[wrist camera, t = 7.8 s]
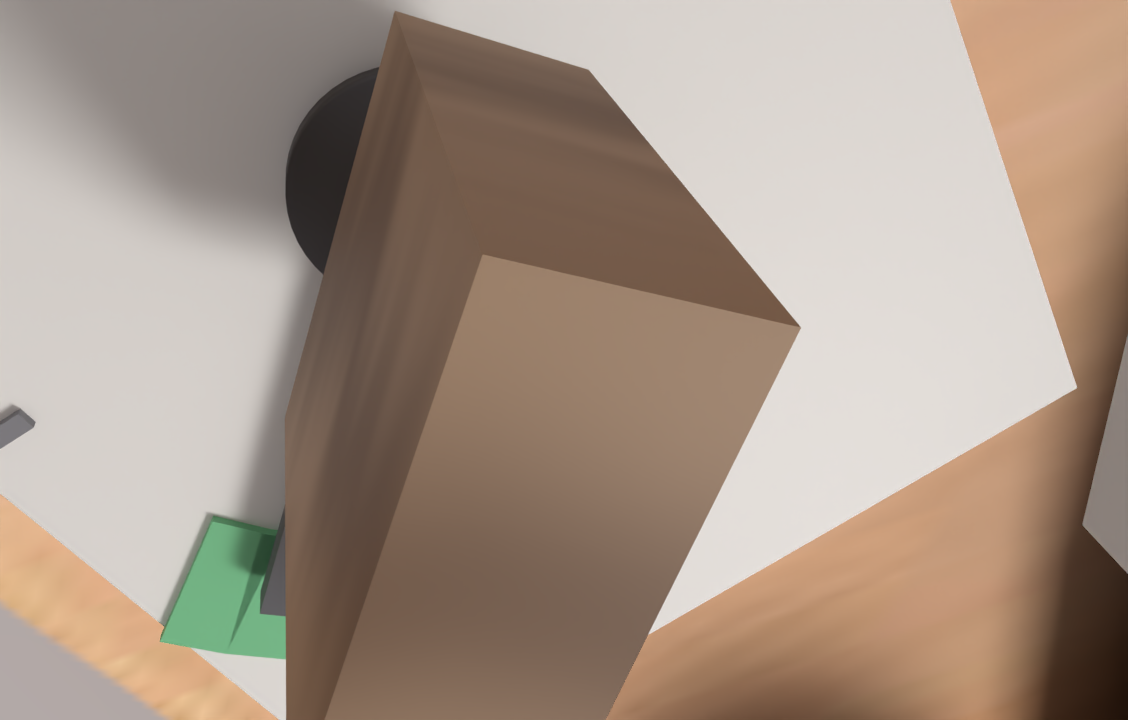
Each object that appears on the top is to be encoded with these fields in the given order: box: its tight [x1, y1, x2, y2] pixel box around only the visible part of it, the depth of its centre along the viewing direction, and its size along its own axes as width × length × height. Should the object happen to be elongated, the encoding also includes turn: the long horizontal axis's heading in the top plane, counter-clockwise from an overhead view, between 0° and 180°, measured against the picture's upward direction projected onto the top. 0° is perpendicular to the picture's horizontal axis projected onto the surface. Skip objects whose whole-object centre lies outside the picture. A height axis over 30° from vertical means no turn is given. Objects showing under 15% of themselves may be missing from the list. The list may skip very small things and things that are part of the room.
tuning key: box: [260, 11, 801, 720], centre depth 17 cm, size 14×4×11 cm, turn 160°
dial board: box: [0, 0, 1077, 720], centre depth 21 cm, size 22×28×2 cm
